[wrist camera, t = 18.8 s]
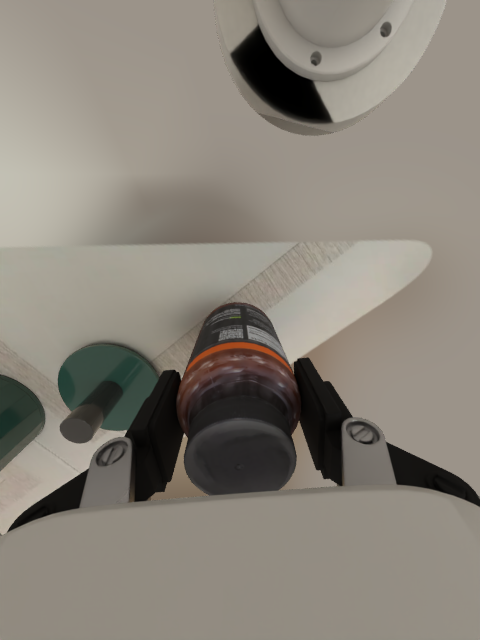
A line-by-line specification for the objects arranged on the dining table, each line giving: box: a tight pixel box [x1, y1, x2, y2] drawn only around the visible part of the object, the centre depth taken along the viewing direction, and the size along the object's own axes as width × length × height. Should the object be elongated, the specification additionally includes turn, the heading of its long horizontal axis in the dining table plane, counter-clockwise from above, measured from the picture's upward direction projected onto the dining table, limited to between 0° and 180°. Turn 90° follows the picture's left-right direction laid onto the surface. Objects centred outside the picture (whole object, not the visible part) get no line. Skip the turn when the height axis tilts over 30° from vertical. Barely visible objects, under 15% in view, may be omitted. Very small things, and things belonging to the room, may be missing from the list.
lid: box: [58, 344, 159, 443], centre depth 22 cm, size 11×11×7 cm
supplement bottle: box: [176, 302, 302, 496], centre depth 13 cm, size 6×6×11 cm
